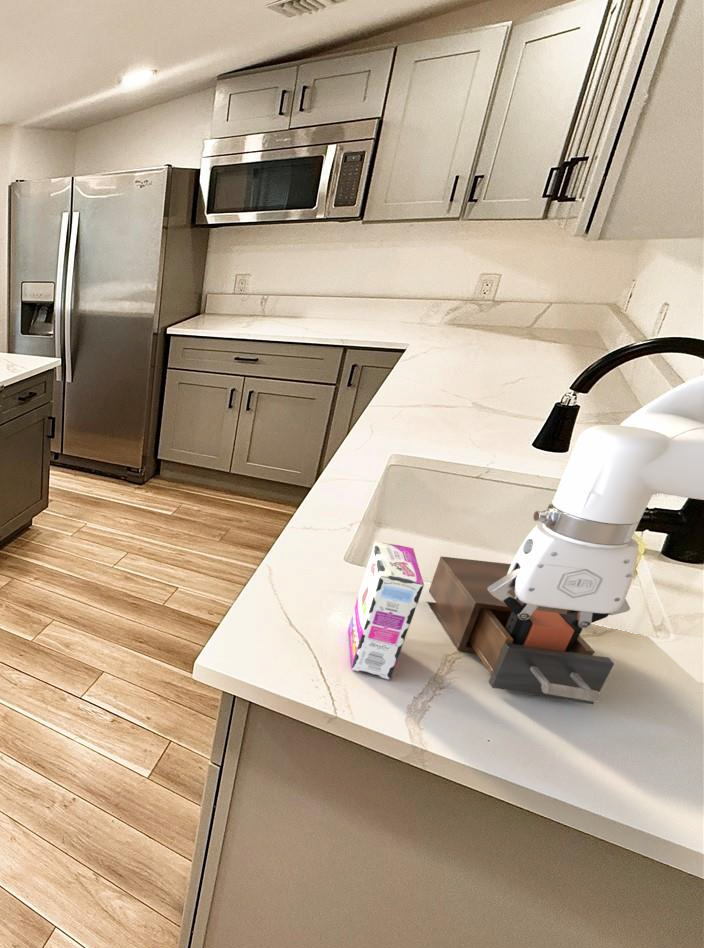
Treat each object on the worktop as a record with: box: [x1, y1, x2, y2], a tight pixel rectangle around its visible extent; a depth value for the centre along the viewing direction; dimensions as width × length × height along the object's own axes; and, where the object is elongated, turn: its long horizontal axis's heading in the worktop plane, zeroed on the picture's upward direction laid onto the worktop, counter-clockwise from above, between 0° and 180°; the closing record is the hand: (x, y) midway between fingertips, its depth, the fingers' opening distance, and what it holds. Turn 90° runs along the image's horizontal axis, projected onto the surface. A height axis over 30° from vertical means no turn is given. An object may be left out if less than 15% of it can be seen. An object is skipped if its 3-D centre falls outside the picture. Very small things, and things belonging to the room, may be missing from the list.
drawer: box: [468, 608, 615, 705], centre depth 83 cm, size 17×10×7 cm, turn 158°
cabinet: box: [426, 556, 567, 654], centre depth 93 cm, size 14×12×9 cm
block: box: [523, 610, 574, 651], centre depth 83 cm, size 4×4×4 cm
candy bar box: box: [347, 541, 425, 681], centre depth 89 cm, size 11×5×16 cm, turn 149°
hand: (537, 641), depth 84 cm, fingers closed on block, 4 cm apart
